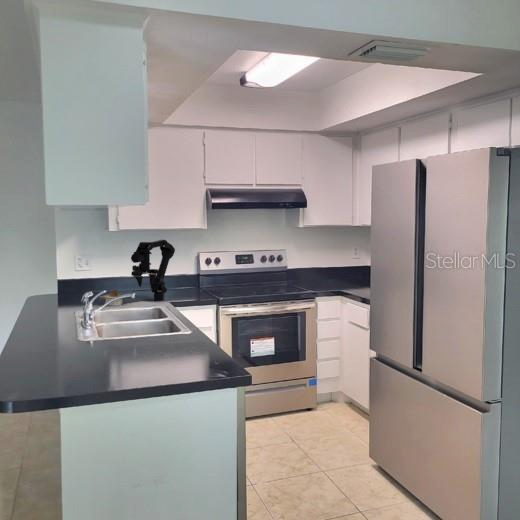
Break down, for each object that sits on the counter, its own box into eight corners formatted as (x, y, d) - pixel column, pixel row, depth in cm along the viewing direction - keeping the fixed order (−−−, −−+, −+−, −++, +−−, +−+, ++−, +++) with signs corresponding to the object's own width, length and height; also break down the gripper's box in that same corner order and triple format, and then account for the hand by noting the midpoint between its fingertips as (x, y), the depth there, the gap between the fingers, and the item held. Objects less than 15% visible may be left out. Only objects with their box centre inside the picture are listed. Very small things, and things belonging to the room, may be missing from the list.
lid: (115, 295, 337) (115, 287, 337) (129, 296, 330) (128, 289, 330) (99, 297, 326) (98, 290, 326) (112, 299, 319) (112, 291, 319)
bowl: (115, 303, 336) (114, 295, 335) (125, 304, 330) (125, 296, 330) (102, 305, 327) (102, 297, 327) (113, 306, 322) (113, 299, 321)
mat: (141, 301, 341) (141, 301, 341) (160, 304, 331) (160, 303, 331) (121, 305, 327) (121, 304, 327) (140, 308, 317) (140, 307, 317)
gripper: (147, 260, 341) (147, 283, 342) (125, 262, 326) (125, 286, 327) (159, 260, 335) (159, 284, 336) (137, 262, 319) (137, 287, 321)
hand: (145, 285), depth 330 cm, fingers open, 9 cm apart
